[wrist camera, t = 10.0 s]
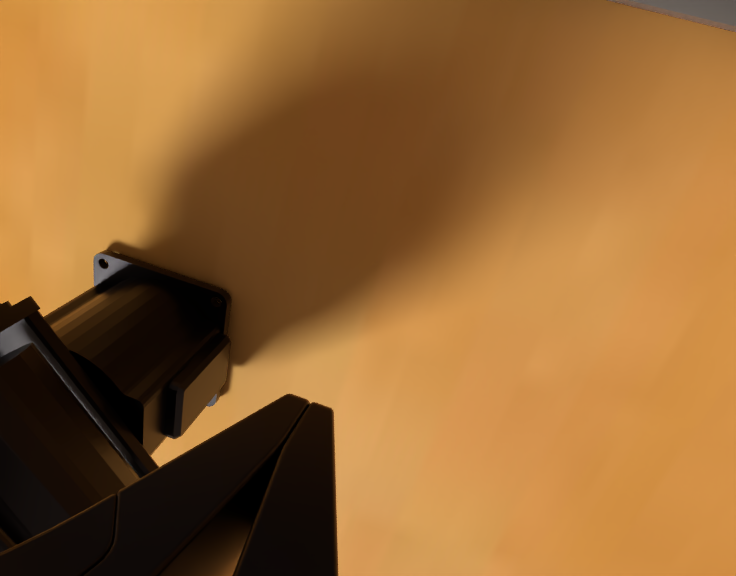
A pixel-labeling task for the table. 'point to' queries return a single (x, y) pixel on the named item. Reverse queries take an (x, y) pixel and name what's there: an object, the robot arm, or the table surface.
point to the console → (692, 10)
